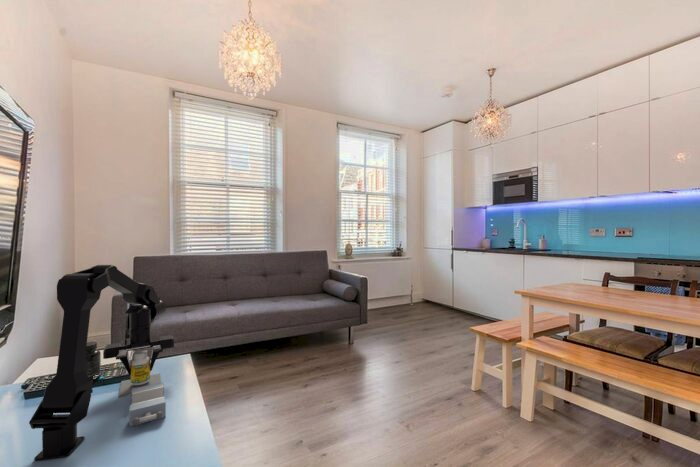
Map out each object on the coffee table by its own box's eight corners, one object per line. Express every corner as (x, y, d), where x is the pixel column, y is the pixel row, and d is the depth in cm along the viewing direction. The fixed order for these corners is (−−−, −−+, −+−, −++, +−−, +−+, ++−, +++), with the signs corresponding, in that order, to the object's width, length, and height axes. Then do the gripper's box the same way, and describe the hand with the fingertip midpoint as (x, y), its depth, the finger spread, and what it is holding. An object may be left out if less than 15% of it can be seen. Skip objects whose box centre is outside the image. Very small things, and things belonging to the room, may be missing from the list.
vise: (166, 422, 84) (166, 407, 84) (129, 432, 80) (128, 416, 80) (163, 394, 98) (163, 381, 98) (132, 402, 94) (131, 388, 94)
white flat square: (161, 387, 102) (161, 386, 102) (118, 397, 96) (118, 395, 96) (160, 374, 112) (160, 373, 112) (121, 382, 106) (121, 381, 106)
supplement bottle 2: (148, 376, 108) (148, 348, 108) (152, 382, 104) (152, 352, 104) (128, 381, 104) (128, 352, 104) (132, 387, 100) (132, 356, 100)
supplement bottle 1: (69, 382, 106) (69, 346, 105) (91, 373, 112) (91, 339, 112) (84, 385, 104) (84, 348, 103) (105, 376, 110) (105, 341, 110)
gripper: (171, 314, 116) (172, 358, 116) (107, 322, 106) (107, 370, 106) (173, 322, 106) (174, 369, 106) (102, 331, 96) (103, 383, 96)
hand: (140, 372), depth 104 cm, fingers closed on supplement bottle 2, 5 cm apart
